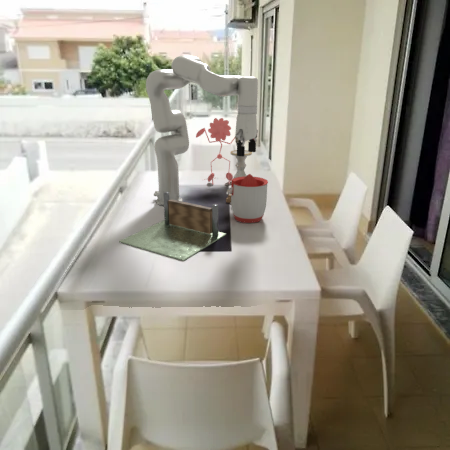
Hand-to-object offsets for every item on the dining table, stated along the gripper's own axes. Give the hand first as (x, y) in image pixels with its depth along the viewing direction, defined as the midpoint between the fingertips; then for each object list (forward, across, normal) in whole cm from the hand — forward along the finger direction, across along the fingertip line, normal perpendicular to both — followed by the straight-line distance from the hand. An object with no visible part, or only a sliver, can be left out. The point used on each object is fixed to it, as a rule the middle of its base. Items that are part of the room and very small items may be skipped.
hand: (246, 153), depth 175 cm
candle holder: (+29, -24, -16) cm, 41 cm away
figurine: (+29, -49, -42) cm, 71 cm away
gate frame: (+29, +31, -15) cm, 45 cm away
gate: (+28, +21, -14) cm, 37 cm away
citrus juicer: (+29, -3, -1) cm, 29 cm away
